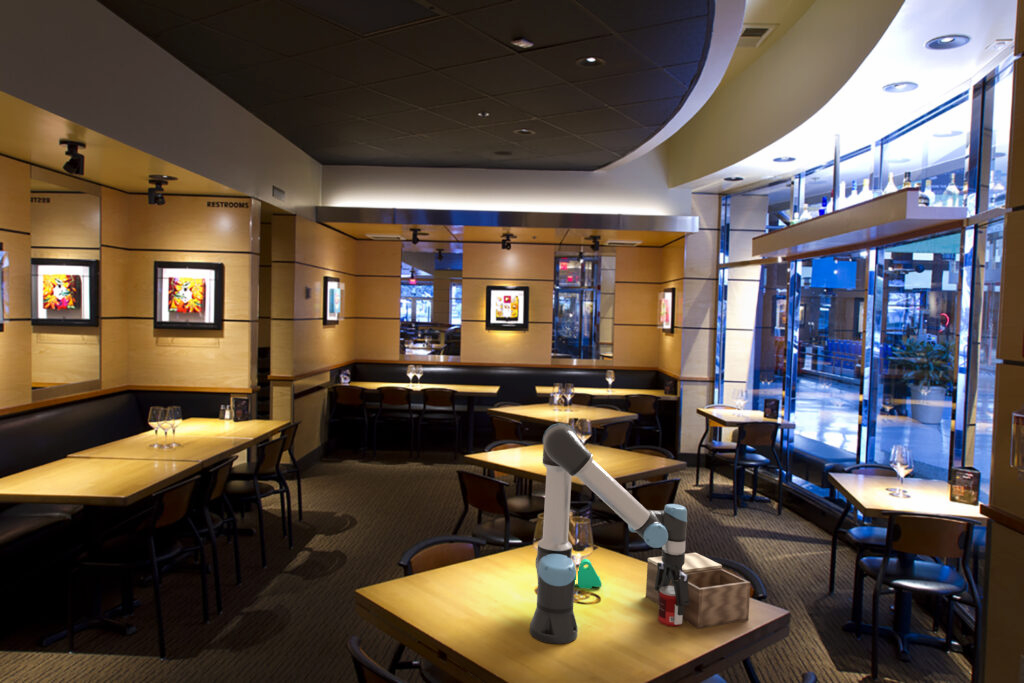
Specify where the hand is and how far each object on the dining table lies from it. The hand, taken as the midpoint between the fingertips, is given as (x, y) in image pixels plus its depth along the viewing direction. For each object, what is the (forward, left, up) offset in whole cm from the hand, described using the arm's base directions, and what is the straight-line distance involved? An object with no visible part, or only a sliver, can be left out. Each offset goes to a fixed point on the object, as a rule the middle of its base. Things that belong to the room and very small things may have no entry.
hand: (670, 618), depth 223 cm
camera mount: (-10, +38, -2) cm, 40 cm away
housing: (+17, +7, -1) cm, 18 cm away
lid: (+17, +14, +12) cm, 25 cm away
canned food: (0, 0, -1) cm, 1 cm away
